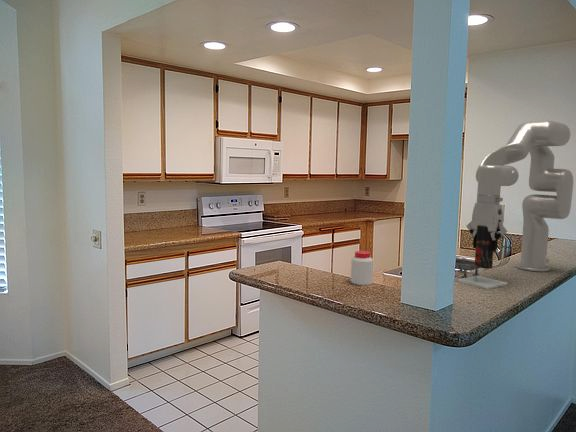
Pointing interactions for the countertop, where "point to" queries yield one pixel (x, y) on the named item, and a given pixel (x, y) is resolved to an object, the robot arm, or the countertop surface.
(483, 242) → the deodorant
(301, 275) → the countertop surface
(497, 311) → the countertop surface
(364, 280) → the pill bottle
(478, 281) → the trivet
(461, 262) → the ring stand
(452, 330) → the countertop surface
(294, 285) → the countertop surface
